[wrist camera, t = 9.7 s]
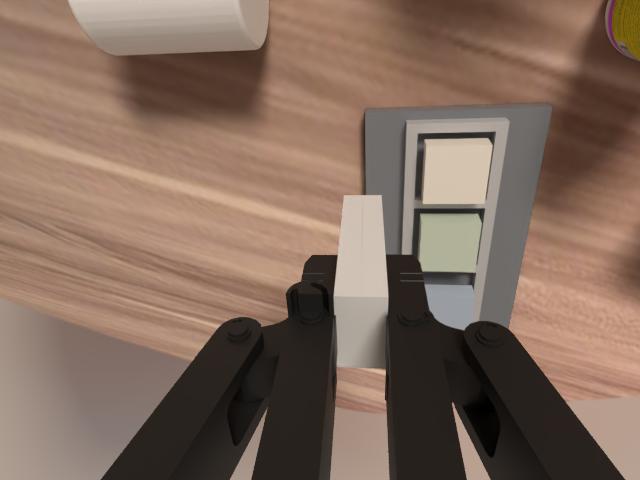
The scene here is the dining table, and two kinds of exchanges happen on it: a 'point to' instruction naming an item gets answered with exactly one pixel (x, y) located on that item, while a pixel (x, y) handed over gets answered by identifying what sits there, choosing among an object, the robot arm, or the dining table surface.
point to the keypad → (496, 214)
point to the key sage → (449, 242)
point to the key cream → (455, 170)
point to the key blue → (451, 304)
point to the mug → (172, 25)
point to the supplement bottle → (624, 26)
